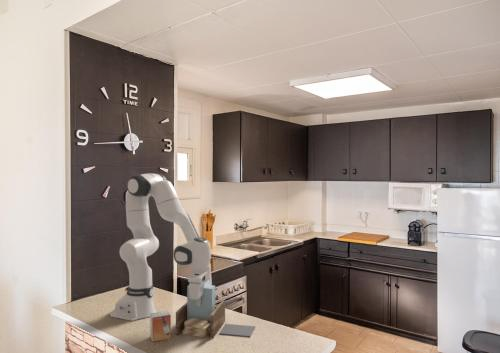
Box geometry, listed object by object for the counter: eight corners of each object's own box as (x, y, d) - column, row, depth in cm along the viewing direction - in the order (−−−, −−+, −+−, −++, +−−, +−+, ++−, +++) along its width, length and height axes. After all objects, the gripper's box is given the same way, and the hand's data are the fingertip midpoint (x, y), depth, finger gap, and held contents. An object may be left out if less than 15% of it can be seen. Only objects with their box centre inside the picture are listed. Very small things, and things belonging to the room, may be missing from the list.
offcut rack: (176, 334, 161) (175, 312, 160) (191, 318, 178) (191, 298, 178) (213, 338, 157) (212, 315, 157) (225, 321, 174) (224, 300, 174)
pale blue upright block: (187, 319, 168) (187, 286, 167) (190, 315, 172) (190, 283, 172) (212, 321, 165) (212, 288, 165) (215, 317, 170) (215, 285, 169)
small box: (152, 342, 154) (151, 317, 154) (150, 337, 159) (149, 313, 159) (171, 338, 157) (170, 314, 157) (168, 333, 162) (168, 310, 162)
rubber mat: (219, 334, 160) (219, 333, 160) (225, 324, 170) (225, 323, 170) (250, 337, 157) (250, 335, 157) (254, 327, 167) (254, 326, 167)
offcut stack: (182, 334, 161) (182, 322, 161) (189, 328, 167) (189, 317, 167) (205, 338, 158) (205, 325, 158) (211, 331, 164) (211, 319, 164)
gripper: (202, 267, 179) (202, 294, 179) (186, 279, 159) (186, 310, 159) (214, 267, 178) (214, 295, 178) (200, 280, 158) (200, 312, 158)
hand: (201, 303), depth 169 cm, fingers closed on pale blue upright block, 4 cm apart
